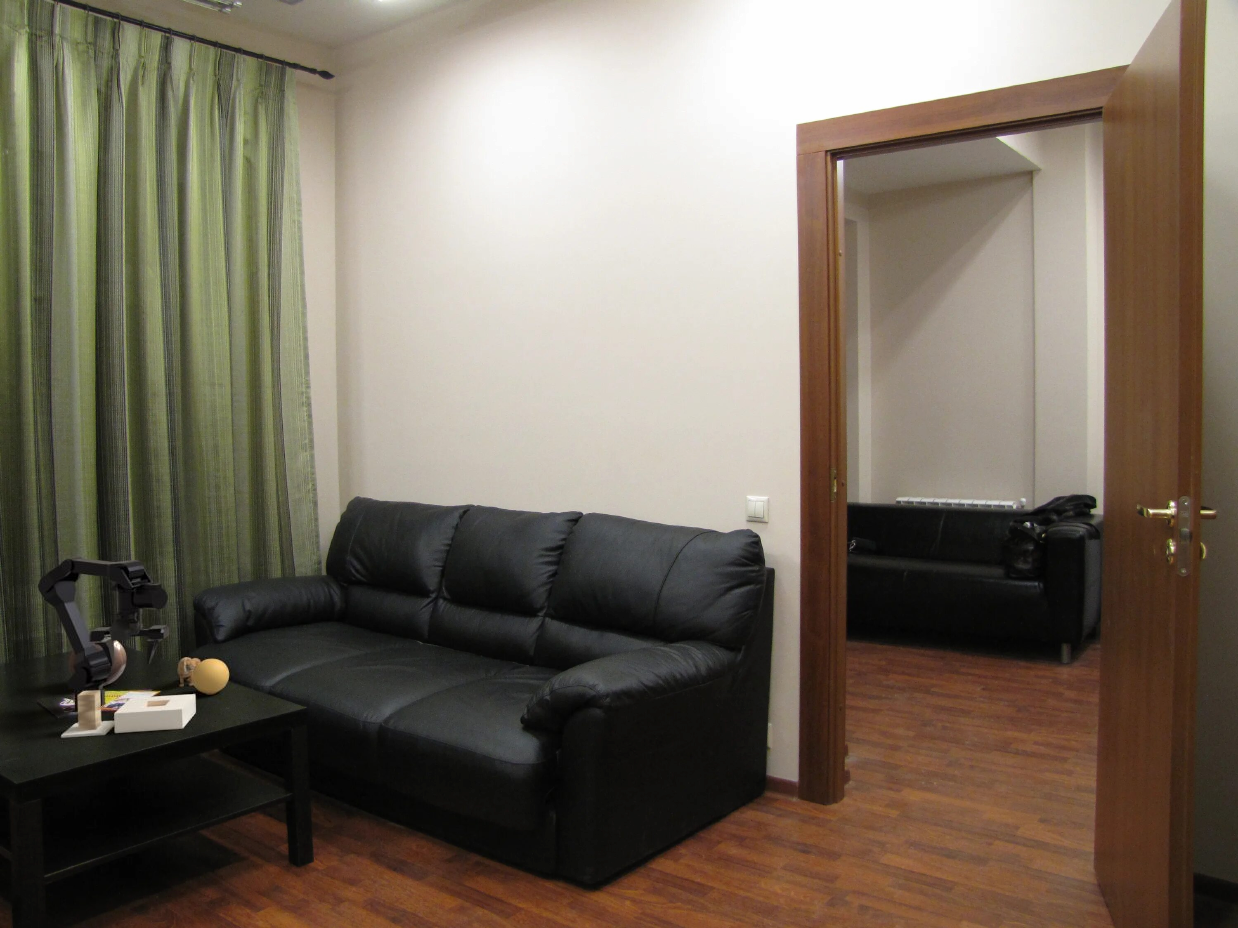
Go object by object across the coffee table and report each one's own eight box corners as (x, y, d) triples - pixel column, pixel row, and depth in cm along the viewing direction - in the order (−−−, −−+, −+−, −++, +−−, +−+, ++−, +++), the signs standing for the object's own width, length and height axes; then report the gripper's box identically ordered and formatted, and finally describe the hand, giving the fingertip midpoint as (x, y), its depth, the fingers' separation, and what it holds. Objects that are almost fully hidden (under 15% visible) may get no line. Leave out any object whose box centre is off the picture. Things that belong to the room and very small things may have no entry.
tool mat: (61, 737, 235) (61, 735, 235) (75, 725, 245) (75, 722, 245) (104, 734, 237) (104, 732, 237) (117, 722, 247) (117, 720, 247)
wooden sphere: (124, 689, 279) (122, 639, 278) (65, 695, 273) (64, 643, 272) (129, 677, 293) (128, 629, 292) (74, 682, 287) (72, 633, 286)
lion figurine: (194, 688, 279) (193, 658, 279) (174, 689, 278) (174, 659, 278) (206, 675, 294) (205, 647, 293) (187, 676, 293) (187, 648, 292)
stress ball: (225, 699, 271) (242, 670, 278) (203, 678, 266) (221, 650, 273) (200, 701, 275) (217, 672, 282) (178, 681, 269) (196, 652, 277)
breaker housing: (114, 732, 239) (114, 713, 238) (131, 716, 252) (131, 697, 252) (182, 728, 242) (182, 708, 242) (195, 712, 255) (195, 693, 255)
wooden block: (78, 730, 239) (77, 695, 238) (84, 725, 243) (83, 690, 242) (95, 729, 240) (94, 694, 239) (101, 724, 243) (100, 690, 243)
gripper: (79, 614, 246) (81, 674, 246) (156, 612, 249) (157, 670, 249) (96, 606, 257) (98, 663, 257) (169, 604, 260) (170, 660, 260)
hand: (130, 664), depth 256 cm, fingers open, 9 cm apart
